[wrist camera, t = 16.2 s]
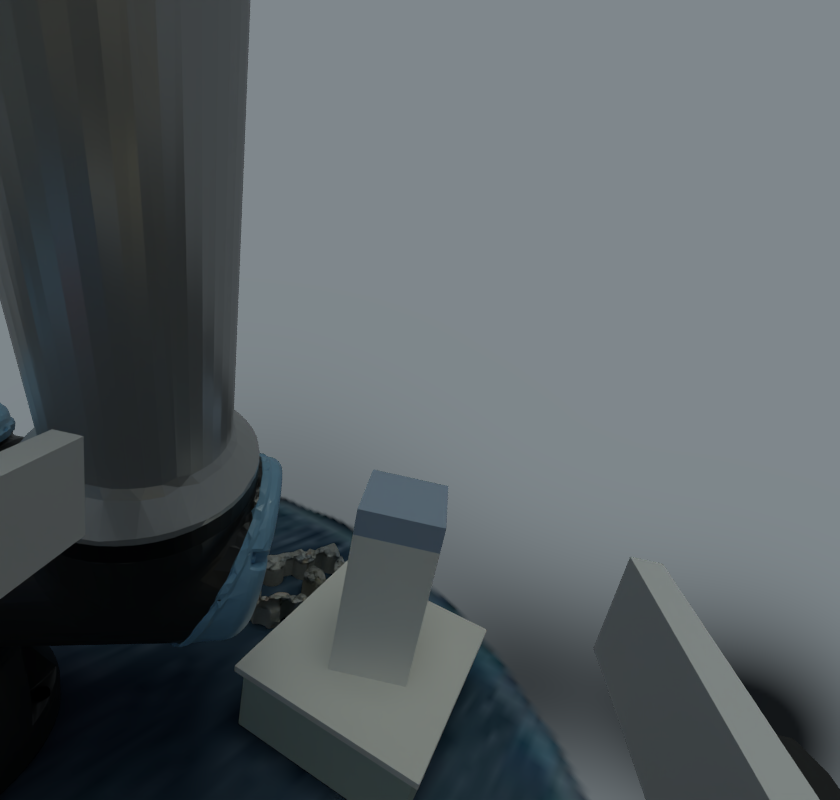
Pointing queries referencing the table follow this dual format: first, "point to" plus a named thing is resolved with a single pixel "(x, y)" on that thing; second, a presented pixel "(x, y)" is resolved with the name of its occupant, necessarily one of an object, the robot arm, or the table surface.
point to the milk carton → (389, 577)
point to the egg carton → (303, 568)
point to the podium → (354, 699)
